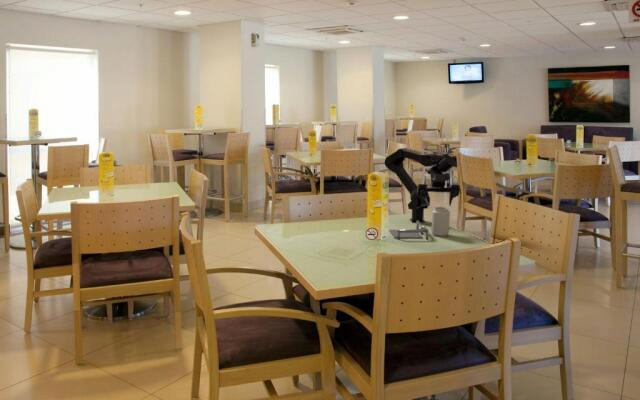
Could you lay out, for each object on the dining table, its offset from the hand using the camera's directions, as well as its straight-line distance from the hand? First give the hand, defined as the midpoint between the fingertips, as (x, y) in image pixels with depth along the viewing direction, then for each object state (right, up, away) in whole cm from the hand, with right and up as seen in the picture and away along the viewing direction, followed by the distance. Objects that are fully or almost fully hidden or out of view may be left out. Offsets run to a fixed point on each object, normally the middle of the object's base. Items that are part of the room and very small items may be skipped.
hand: (439, 205), depth 246 cm
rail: (-14, -12, -2) cm, 19 cm away
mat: (-16, -13, -3) cm, 20 cm away
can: (-1, -13, -4) cm, 14 cm away
